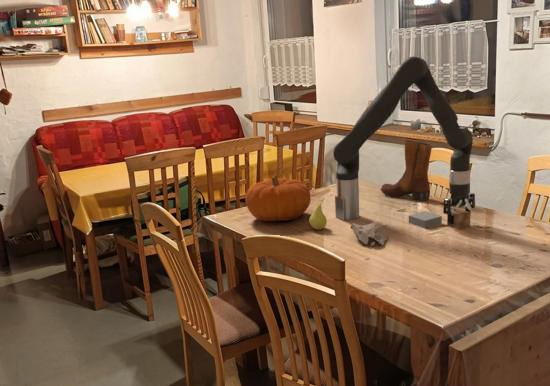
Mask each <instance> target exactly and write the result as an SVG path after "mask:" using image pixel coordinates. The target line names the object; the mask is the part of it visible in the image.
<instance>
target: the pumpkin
mask: <svg viewBox="0 0 550 386" xmlns="http://www.w3.org/2000/svg"><path fill="white" fill-rule="evenodd" d="M311 197H312V196H311V192H310V189H309V188H308V186H307V185H306V184H304V183H303V182H302V181H300V180H298V179H290V178H286V177H278V176H277V174H276V173H274V174H273V176H272V177H271V178H270V179H269V178H268V179H266V180H264V181H259V182H257V183H255V184H253V185H251V186H250V187H249V188H248V189H247V191H246V193H245V197H244V198H245V201H244V202H245V205H246V208H247V209H248V211H249V213H250V214H251V215H252V216H253V218H255V219H257V220H260V221H263V222H276V221H291V220H295V219H297V218H299V217H300V216H302V215H303V214H304V213H305V212H306V211H307V209H308V208H309V207H310V205H311V200H312V199H311Z"/></svg>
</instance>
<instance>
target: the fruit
mask: <svg viewBox="0 0 550 386" xmlns="http://www.w3.org/2000/svg"><path fill="white" fill-rule="evenodd" d="M324 199H325V198H322V200H321V202H320V203H319V204H317V205H316V207H315V209H314V211H313V212H312V214H311V215H310V216H309V219H308V220H309V221H308V222H309V225H310V226H311V227H312V229H314V230H319V231H320V230H322V229H324V228H325V227H326V225H327V222H328V221H327V217H326V215H325V214H324V213H323V211H322V203H323V202H324Z"/></svg>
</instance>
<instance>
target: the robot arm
mask: <svg viewBox="0 0 550 386" xmlns="http://www.w3.org/2000/svg"><path fill="white" fill-rule="evenodd" d="M413 84H414V85H415V86H416V87H417V89H419V91H420V92H421V94H422V95H423V97H424V99H425V102H426V103H427V105H428V108H429V110H430V112H431V114H432V115H433V117H434V118H435V121H437V123H438V124H439V126H440V127H441V131H442V133H443V136H444V139H445V140H446V142H447V144H448V145H449V146H450V147H451V148H452V149H453V153H452V154H451V157H450V160H449V162H450V163H449V166H450V169H449V183H448V186H449V187H448V189H449V190H448V192H449V194H450V198H444V199H443V211H442V212H443V214H445V215H448V223H449V224H454V213H455V211H456V210H457V209H461V208H464V211H467V212H471V211H472V209H476V208H475V207H476V194H475V193H473V192H471V171H470V170H471V165H470V164H471V162H470V161H471V160H470V158H471V154H472V148H473V134H472V131H470V129H468V128H465V127H460V125H459V122H458V120H459V117H458V115H457V114H456V112H455V110H454V109H453V108H452V106H451V104H450V103H449V101H448V100H447V99H446V97H445V96H444V94H443V93H442V91H441V90H440V88H439V86H438V85H437V83H436V81H435V79H434V77H433V75H432V72H431V71H430V67H429V65H428V63H427V61H426V60H425V59H424V58H422V57H418V56H409V57H407V58H406V59H404V60H403V61H402V63H401V64H400V65H399V67H398V69H397V70H396V71H395V73H394V74H393V75H392V77H391V79H390V80H389V82H388V83H387V84H386V85H385V86H384V87H383V89H382V90H381V91H380V92H379V93H378V94H377V95H376V96H375V97H374V99H373V100H371V102H370V104H369V105H368V106H367V107H366V108H365V110H364V111H363V112H362V113H361V115H360V116H359V118H358V119H357V121H356V123H355V124H354V126H353V127H352V129H351V130H350V131H349V132H348V133H347V134H346V135H345V136H344V137H343V138H342V139H340V141H339V142H338V143H337V144H335V146H334V148H333V152H332V155H333V158H334V160H335V161H336V162H337V167H336V172H335V179H336V181H335V182H336V185H335V186H336V195H335V196H334V200H335V201H334V203H335V204H334V206H335V211H334V212H335V218H337V219H340V220H341V221H353V220H357V219H359V218H360V194H359V193H360V191H359V190H360V189H359V188H360V187H359V186H360V185H359V171H360V149H361V148H362V147H363V145H364V144H365V142H366V141H367V140H369V138H371V137H372V136H373V135H374V134H375V133H377V131H378V130H380V128H382V127H383V125H384V124H385V123H386V122H387V121H388V120H389V118H390V117H391V116H392V114H394V112H395V110H396V108H397V106H398V104H399V102H400V101H401V98H402V97H403V96H404V94H405V93H406V92H407V91H408V89H410V88H411V87H412V86H413ZM451 211H452V212H451ZM471 214H472V213H470V218H471Z"/></svg>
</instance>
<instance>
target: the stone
mask: <svg viewBox="0 0 550 386" xmlns="http://www.w3.org/2000/svg"><path fill="white" fill-rule="evenodd" d="M350 229H351V230H352V231H353V234H355V237H357V239H359V240H360V242H361V243H363V244H365V245H368V244H369V238H372V239H374V240H375V241H372V242H371V243H370V245H369V247H373V246H375V244H376V242H378V245H382V246H383V245H384V243H385V241H386V240H388V235H387V230H386V229H385V228H383V227H382V226H381V225H380V224H379V223H378V222H375V221H373V222H372V223H371V222H370V223H368V224H364V225H361V224H357V223H354V222H353V223H352V224H350Z"/></svg>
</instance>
